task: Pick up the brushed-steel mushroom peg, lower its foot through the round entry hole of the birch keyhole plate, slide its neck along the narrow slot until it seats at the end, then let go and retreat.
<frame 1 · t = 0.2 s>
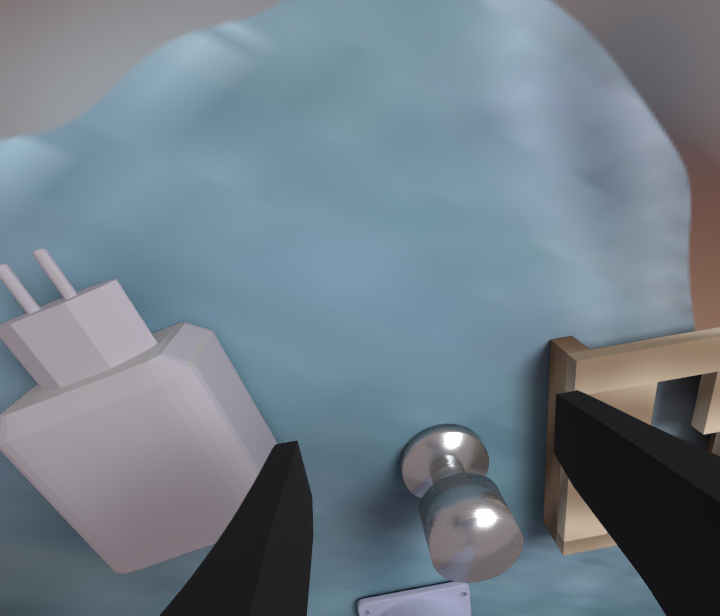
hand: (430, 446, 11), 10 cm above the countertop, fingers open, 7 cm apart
peg: (442, 458, 24), on the countertop
charger: (149, 374, 21), on the countertop
keyhole plate: (641, 423, 24), on the countertop
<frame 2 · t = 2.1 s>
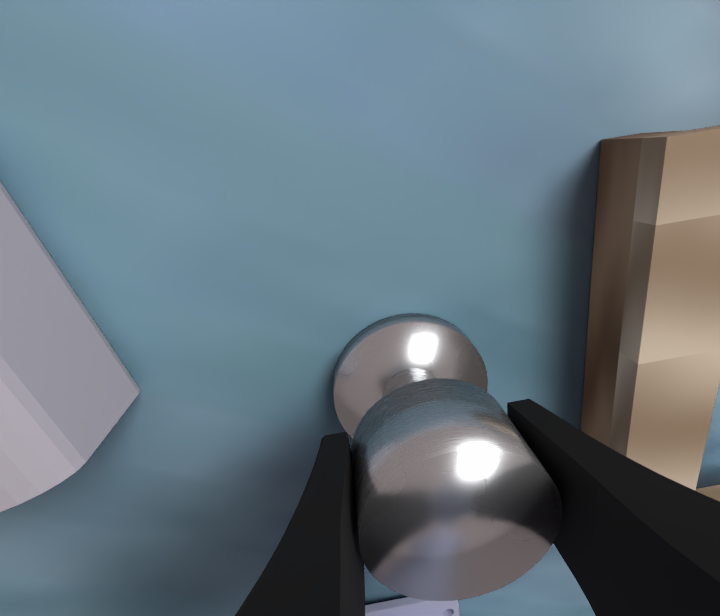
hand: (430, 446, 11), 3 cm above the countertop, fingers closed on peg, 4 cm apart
peg: (406, 381, 14), on the countertop, touching gripper
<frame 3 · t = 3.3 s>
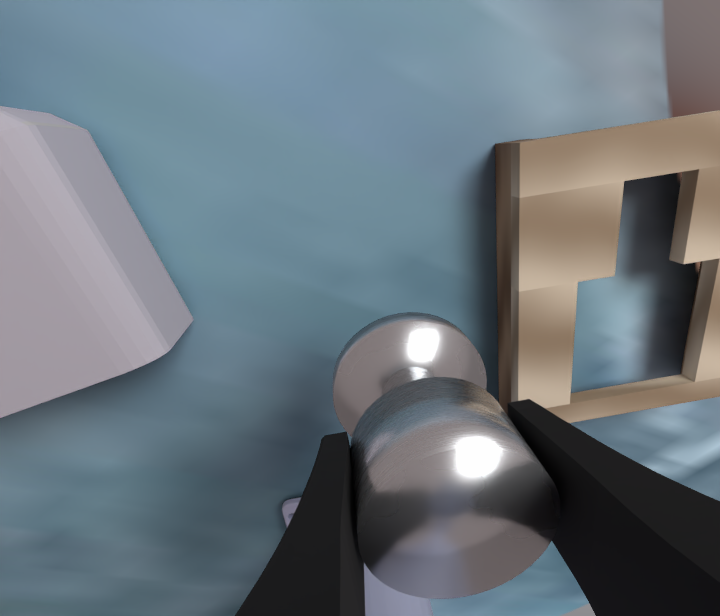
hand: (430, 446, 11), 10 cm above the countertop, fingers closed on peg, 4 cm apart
peg: (406, 380, 14), point 7 cm above the countertop, touching gripper
charger: (20, 198, 17), on the countertop
keyhole plate: (611, 272, 20), on the countertop
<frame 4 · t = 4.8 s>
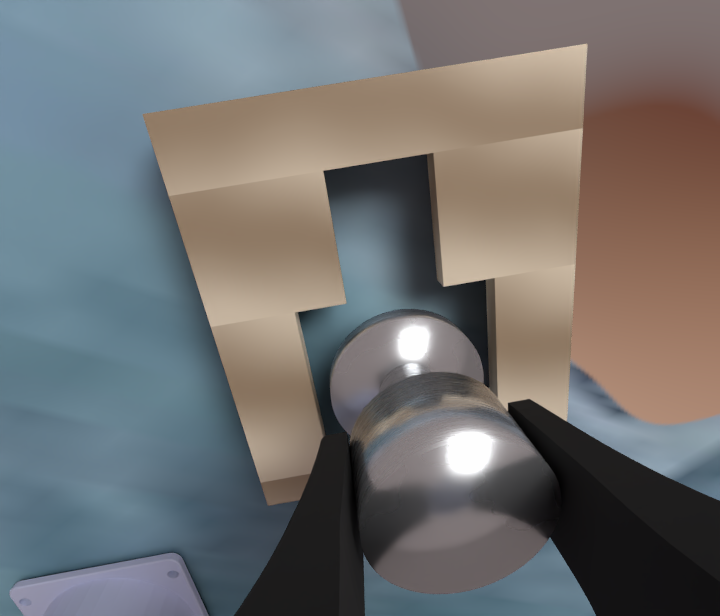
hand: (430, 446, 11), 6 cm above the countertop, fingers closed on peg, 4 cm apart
peg: (403, 377, 14), point 2 cm above the countertop, touching gripper
keyhole plate: (387, 293, 15), on the countertop
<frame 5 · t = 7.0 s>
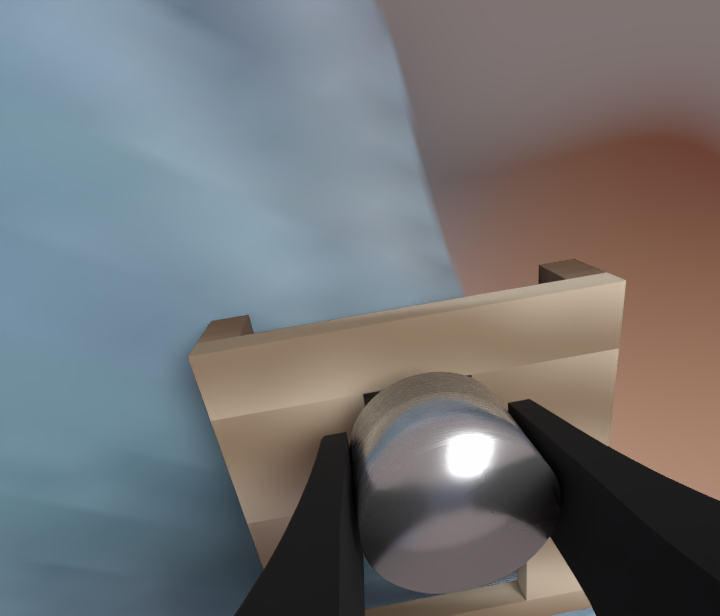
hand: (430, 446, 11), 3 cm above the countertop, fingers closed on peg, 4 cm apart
peg: (403, 377, 14), on the countertop, touching gripper
keyhole plate: (415, 457, 16), on the countertop
when the fingers open (3 cm above the countertop, at t = 8.1 s): peg stays where it is, on the countertop.
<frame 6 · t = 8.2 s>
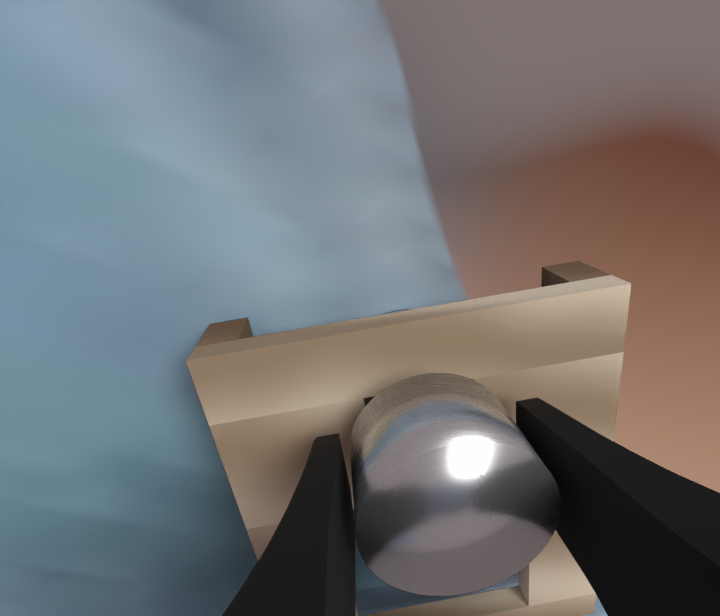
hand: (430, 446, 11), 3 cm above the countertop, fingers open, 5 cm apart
peg: (405, 377, 14), on the countertop
keyhole plate: (417, 460, 15), on the countertop
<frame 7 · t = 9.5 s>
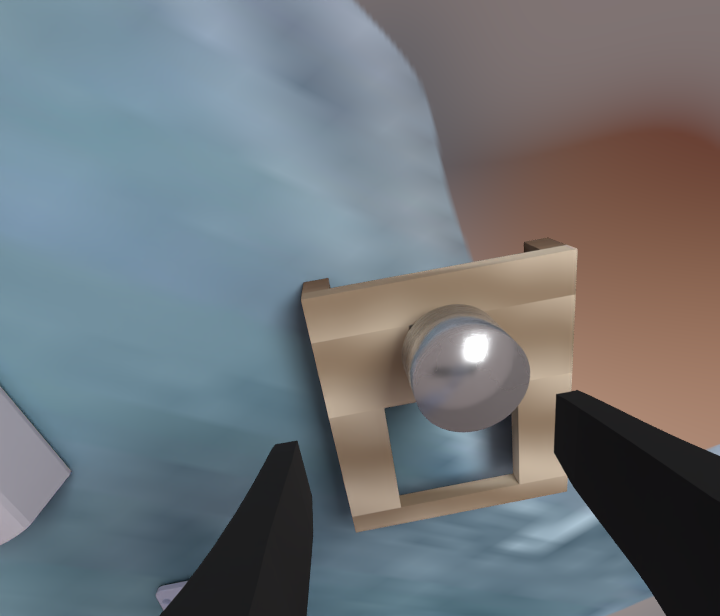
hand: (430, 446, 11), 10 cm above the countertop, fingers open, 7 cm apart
peg: (432, 320, 20), on the countertop
keyhole plate: (439, 382, 22), on the countertop
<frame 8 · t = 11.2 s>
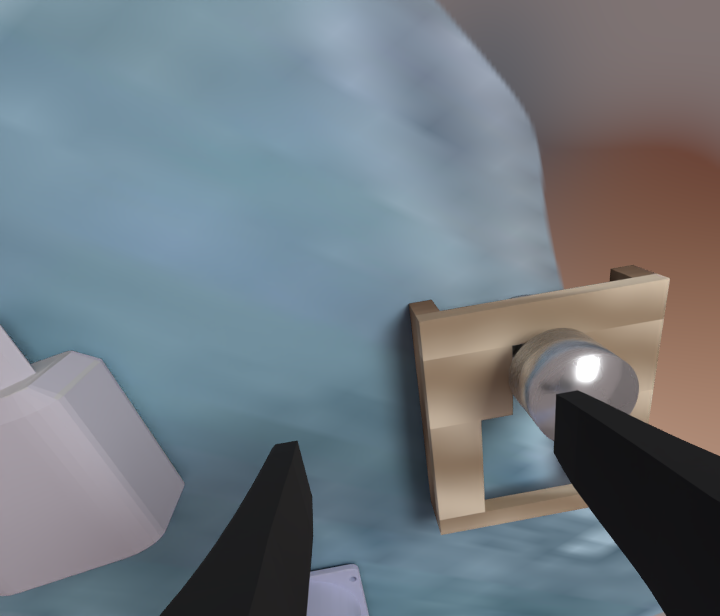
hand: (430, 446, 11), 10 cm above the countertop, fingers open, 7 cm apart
peg: (520, 339, 22), on the countertop
charger: (44, 398, 21), on the countertop
keyhole plate: (521, 395, 23), on the countertop
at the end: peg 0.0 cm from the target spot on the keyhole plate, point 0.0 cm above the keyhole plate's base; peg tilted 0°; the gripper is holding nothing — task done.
